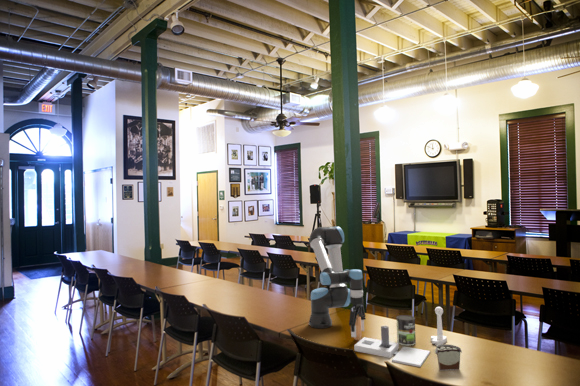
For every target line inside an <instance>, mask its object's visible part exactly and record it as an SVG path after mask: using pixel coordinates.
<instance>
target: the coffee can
mask: <svg viewBox="0 0 580 386" xmlns="http://www.w3.org/2000/svg"><path fill="white" fill-rule="evenodd" d="M395 318H396V340H397V341H396V343H399V345H401V346H405V347H412V346H415V345H416V344H417V342H416V340H417V339H416V337H417V336H416V317H414V316H413V315H408V314H400V315H397V316H396V317H395ZM414 344H415V345H414ZM411 345H412V346H411Z"/></svg>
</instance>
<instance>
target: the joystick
mask: <svg viewBox="0 0 580 386" xmlns="http://www.w3.org/2000/svg"><path fill="white" fill-rule="evenodd" d="M434 312H435V314H436V335H431V336H430V341H431V344H433V345H434V346H436V347H437V346H438V345H443V344H446V343H447V341H448V340H447V339H448V337H447V336H446V335H444V334H443V322H442V315H443V314H444V309H443V308H442V307H441V306H436V307H435V309H434Z"/></svg>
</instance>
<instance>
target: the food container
mask: <svg viewBox="0 0 580 386" xmlns="http://www.w3.org/2000/svg"><path fill="white" fill-rule="evenodd" d="M434 352H435V354H436V355H437V363H438V364H437V366H438V369H439V372H441V371H458V370H459V371H460V368H461V367H460V366H461V365H460V364H461V353H463V352H462V349H461V347H459V346H457V345H454V344H446V343H444V344H442V345H438V346H436V347H435V351H434Z"/></svg>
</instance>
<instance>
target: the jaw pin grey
mask: <svg viewBox="0 0 580 386" xmlns="http://www.w3.org/2000/svg"><path fill="white" fill-rule="evenodd" d="M380 337H381V338H380V340H381V342H382V347H383V348H389V342H390V330H389V326H387V325H381V326H380Z"/></svg>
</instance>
